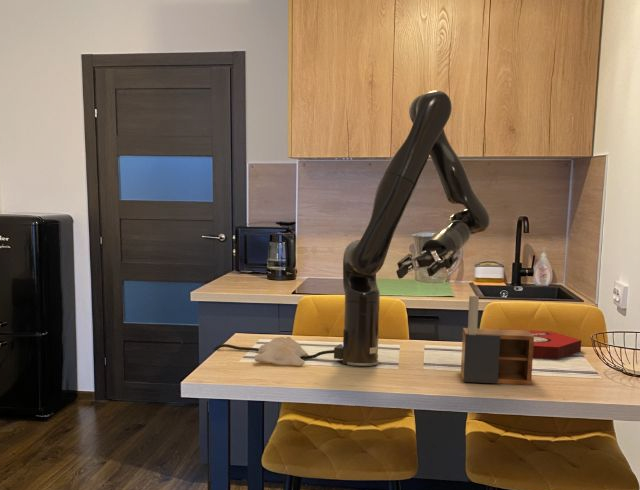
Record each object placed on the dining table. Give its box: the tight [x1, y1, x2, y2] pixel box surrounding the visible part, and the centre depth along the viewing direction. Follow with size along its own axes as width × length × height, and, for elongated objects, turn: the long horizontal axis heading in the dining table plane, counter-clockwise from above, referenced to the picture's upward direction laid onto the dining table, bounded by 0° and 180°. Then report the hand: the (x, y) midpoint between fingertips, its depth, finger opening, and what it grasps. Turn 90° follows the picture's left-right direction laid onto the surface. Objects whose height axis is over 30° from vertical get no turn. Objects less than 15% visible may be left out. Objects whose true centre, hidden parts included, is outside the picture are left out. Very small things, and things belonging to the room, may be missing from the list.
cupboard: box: [460, 327, 534, 386], centre depth 183 cm, size 16×8×12 cm, turn 81°
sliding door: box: [462, 295, 500, 384], centre depth 178 cm, size 8×2×21 cm, turn 81°
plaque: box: [504, 328, 582, 361], centre depth 221 cm, size 27×4×30 cm
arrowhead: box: [254, 336, 309, 367], centre depth 210 cm, size 14×5×30 cm
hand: (413, 274), depth 178 cm, fingers open, 8 cm apart
